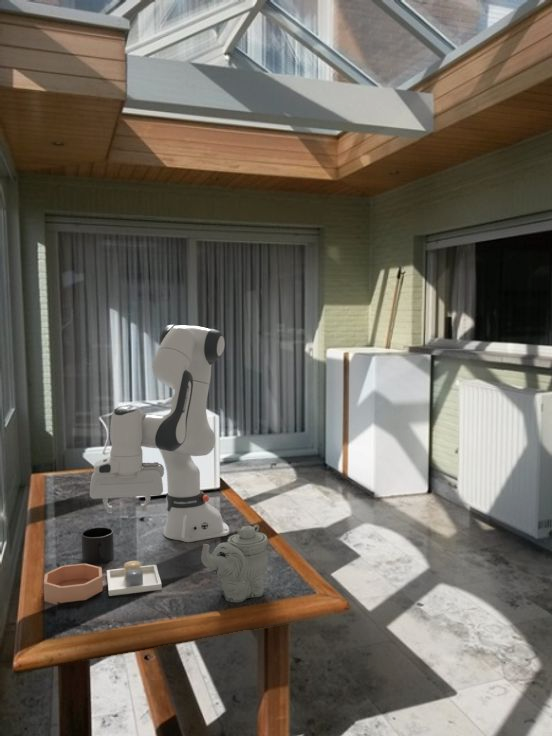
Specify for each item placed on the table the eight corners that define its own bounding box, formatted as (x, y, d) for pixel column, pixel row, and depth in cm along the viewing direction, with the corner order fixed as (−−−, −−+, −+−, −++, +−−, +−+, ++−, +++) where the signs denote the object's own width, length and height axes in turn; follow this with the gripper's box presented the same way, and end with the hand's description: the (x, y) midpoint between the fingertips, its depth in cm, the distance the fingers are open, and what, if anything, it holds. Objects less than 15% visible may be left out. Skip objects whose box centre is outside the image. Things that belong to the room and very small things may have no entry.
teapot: (200, 605, 170) (199, 535, 168) (213, 581, 185) (213, 516, 183) (262, 609, 168) (262, 538, 166) (271, 584, 183) (270, 519, 181)
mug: (85, 572, 191) (84, 542, 190) (80, 557, 202) (79, 529, 201) (117, 567, 195) (116, 538, 194) (111, 553, 206) (110, 525, 205)
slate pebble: (142, 582, 182) (141, 568, 181) (143, 589, 177) (143, 575, 177) (125, 584, 180) (125, 570, 180) (126, 591, 176) (126, 577, 176)
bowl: (101, 578, 187) (101, 561, 186) (103, 601, 172) (102, 582, 172) (46, 584, 182) (45, 567, 182) (43, 608, 168) (42, 590, 168)
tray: (156, 572, 191) (156, 564, 190) (161, 592, 177) (161, 584, 177) (107, 578, 187) (106, 570, 186) (108, 599, 173) (108, 590, 173)
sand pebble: (140, 573, 188) (139, 560, 187) (141, 579, 183) (141, 566, 183) (124, 575, 186) (123, 561, 186) (125, 581, 182) (124, 568, 182)
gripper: (163, 459, 188) (163, 506, 189) (89, 462, 183) (90, 510, 184) (164, 464, 182) (164, 512, 183) (89, 467, 177) (89, 517, 178)
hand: (126, 511), depth 183 cm, fingers open, 8 cm apart
